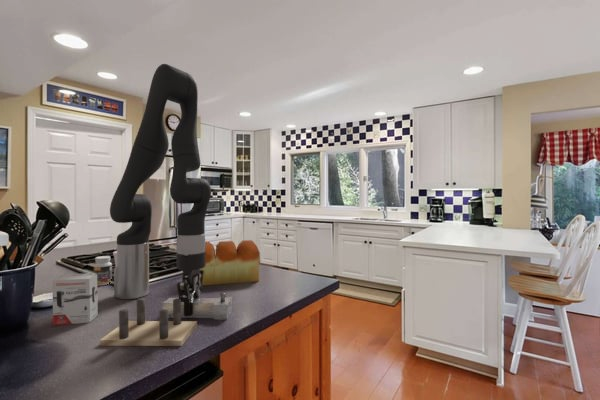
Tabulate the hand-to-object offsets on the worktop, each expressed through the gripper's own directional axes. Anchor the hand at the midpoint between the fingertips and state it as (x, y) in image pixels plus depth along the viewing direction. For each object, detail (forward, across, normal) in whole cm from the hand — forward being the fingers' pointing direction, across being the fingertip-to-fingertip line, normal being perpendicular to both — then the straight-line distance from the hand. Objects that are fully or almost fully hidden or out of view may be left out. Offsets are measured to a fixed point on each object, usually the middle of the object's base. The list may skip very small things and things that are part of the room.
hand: (191, 311), depth 83 cm
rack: (+1, +12, -5) cm, 13 cm away
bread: (+1, -35, +1) cm, 35 cm away
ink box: (+1, +4, -29) cm, 29 cm away
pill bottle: (+1, -28, -43) cm, 51 cm away
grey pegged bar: (+1, 0, +2) cm, 2 cm away
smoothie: (+1, -40, -43) cm, 59 cm away
